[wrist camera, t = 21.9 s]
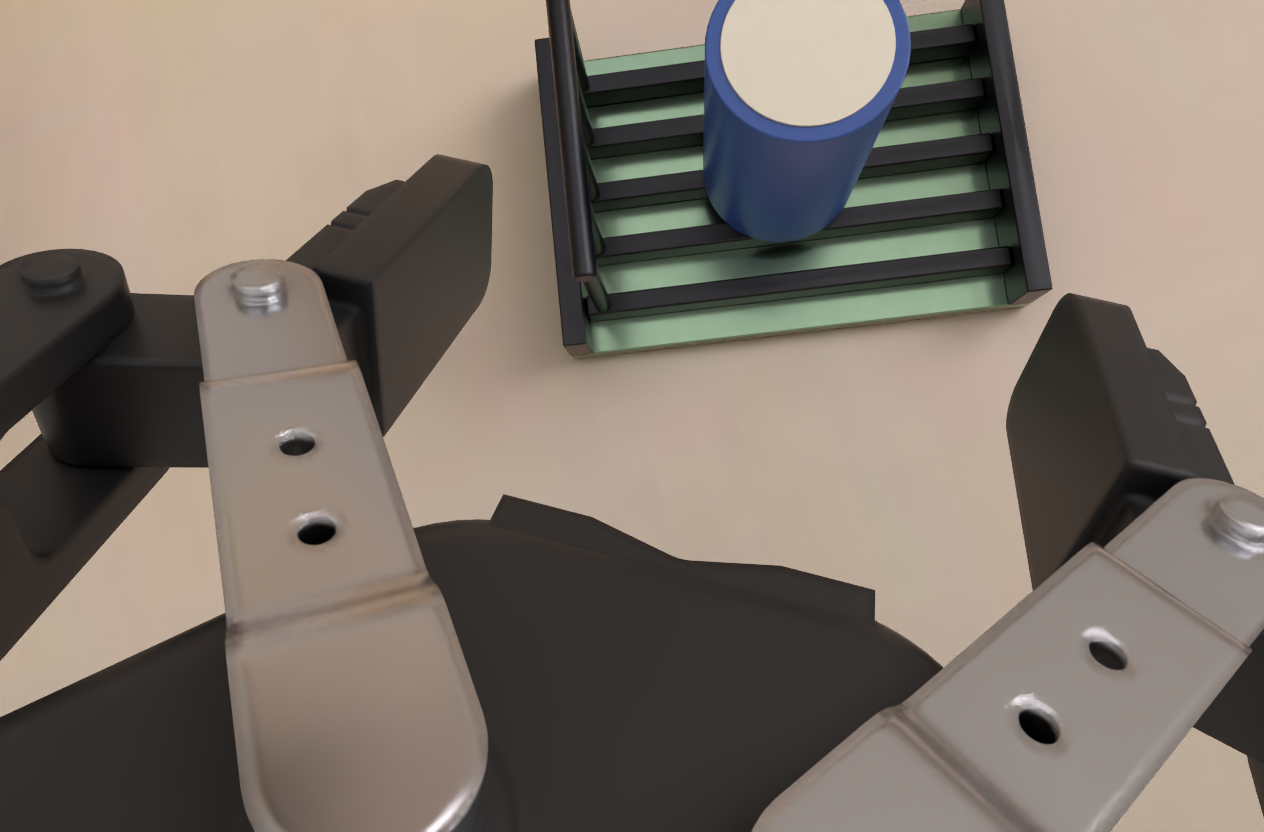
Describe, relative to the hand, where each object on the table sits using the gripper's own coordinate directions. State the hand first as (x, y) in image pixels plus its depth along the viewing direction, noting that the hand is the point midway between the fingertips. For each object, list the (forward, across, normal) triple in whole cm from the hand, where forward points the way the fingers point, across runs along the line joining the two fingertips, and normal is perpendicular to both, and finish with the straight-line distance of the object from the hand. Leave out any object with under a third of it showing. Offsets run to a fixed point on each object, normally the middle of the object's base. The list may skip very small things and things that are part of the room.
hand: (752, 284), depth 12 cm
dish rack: (+20, 0, +7) cm, 21 cm away
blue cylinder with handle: (+20, 0, +4) cm, 21 cm away
